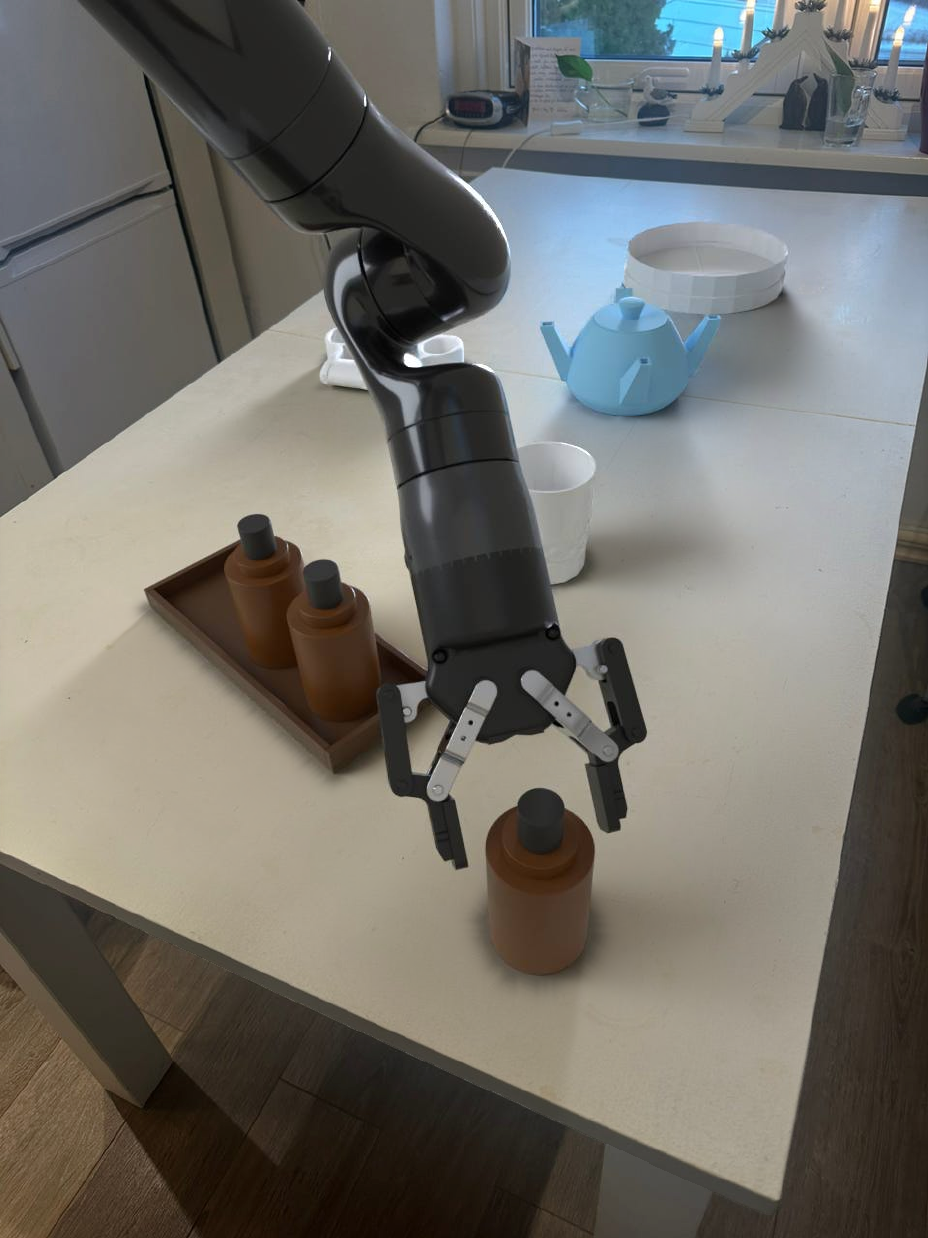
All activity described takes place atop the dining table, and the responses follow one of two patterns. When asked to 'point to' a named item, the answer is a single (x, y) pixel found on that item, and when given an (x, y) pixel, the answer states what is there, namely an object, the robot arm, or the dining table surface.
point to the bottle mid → (265, 590)
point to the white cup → (560, 502)
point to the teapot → (629, 356)
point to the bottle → (539, 883)
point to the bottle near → (334, 645)
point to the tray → (213, 628)
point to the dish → (705, 267)
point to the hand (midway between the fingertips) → (536, 848)
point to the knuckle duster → (347, 374)
